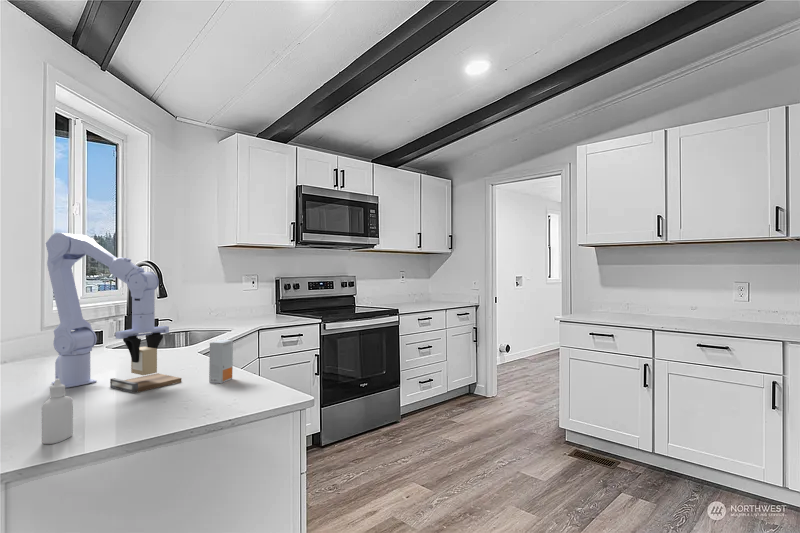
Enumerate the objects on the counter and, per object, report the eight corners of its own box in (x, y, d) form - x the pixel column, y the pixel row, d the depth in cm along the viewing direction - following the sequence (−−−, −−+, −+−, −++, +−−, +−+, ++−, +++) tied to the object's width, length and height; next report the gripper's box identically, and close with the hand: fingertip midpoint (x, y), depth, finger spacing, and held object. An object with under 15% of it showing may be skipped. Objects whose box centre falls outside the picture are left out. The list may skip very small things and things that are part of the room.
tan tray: (109, 387, 131) (109, 378, 131) (157, 377, 144) (157, 369, 144) (133, 393, 125) (133, 384, 125) (181, 382, 137) (181, 373, 137)
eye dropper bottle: (36, 441, 90) (36, 380, 90) (69, 433, 95) (69, 374, 95) (45, 446, 88) (45, 383, 88) (78, 437, 93) (78, 377, 93)
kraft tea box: (143, 375, 130) (143, 350, 130) (131, 372, 133) (131, 348, 133) (156, 372, 134) (157, 348, 134) (144, 370, 137) (145, 346, 137)
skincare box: (221, 383, 136) (221, 342, 136) (208, 383, 136) (208, 342, 136) (233, 378, 141) (233, 339, 142) (220, 378, 142) (220, 339, 142)
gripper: (125, 316, 125) (125, 366, 125) (175, 312, 138) (175, 357, 138) (111, 315, 129) (111, 364, 129) (160, 311, 142) (161, 355, 141)
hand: (143, 360), depth 134 cm, fingers closed on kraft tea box, 4 cm apart
